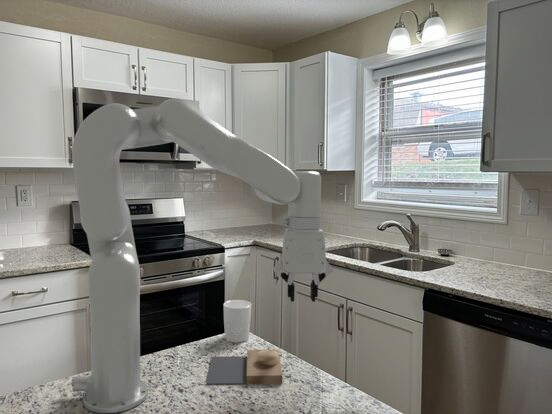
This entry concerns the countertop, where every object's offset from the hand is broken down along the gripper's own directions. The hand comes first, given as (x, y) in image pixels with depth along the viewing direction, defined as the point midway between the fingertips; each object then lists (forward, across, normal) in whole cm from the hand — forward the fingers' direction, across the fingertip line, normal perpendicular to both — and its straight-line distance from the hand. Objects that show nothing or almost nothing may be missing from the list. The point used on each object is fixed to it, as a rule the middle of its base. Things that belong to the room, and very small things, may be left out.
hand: (302, 299), depth 103 cm
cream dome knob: (+15, -8, 0) cm, 17 cm away
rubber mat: (+17, -18, 0) cm, 25 cm away
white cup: (+18, -16, +20) cm, 31 cm away
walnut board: (+17, -9, 0) cm, 20 cm away
